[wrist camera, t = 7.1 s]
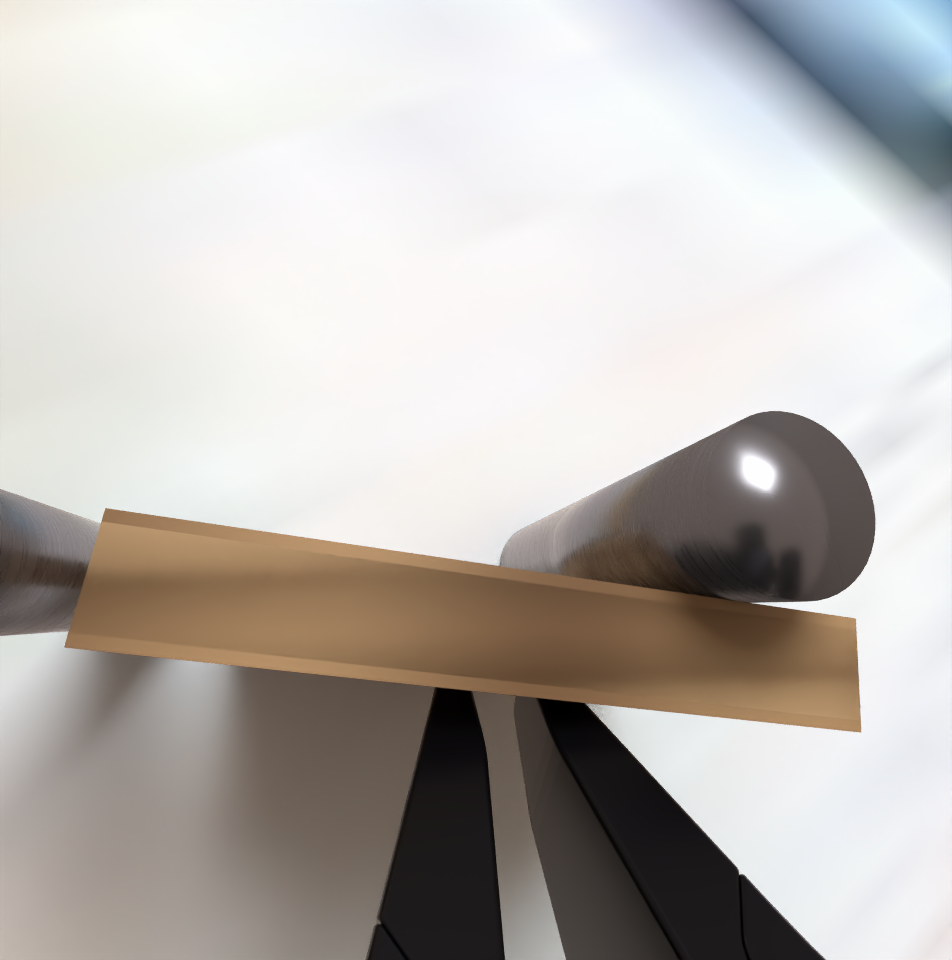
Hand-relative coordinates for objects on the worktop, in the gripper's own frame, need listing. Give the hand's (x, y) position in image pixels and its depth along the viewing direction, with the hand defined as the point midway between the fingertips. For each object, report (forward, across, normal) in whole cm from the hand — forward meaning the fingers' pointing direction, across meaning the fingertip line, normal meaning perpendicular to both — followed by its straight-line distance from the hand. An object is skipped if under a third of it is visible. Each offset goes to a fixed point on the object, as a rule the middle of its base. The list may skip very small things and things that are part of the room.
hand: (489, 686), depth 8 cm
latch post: (+7, -3, +3) cm, 8 cm away
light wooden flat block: (+6, 0, +4) cm, 7 cm away
